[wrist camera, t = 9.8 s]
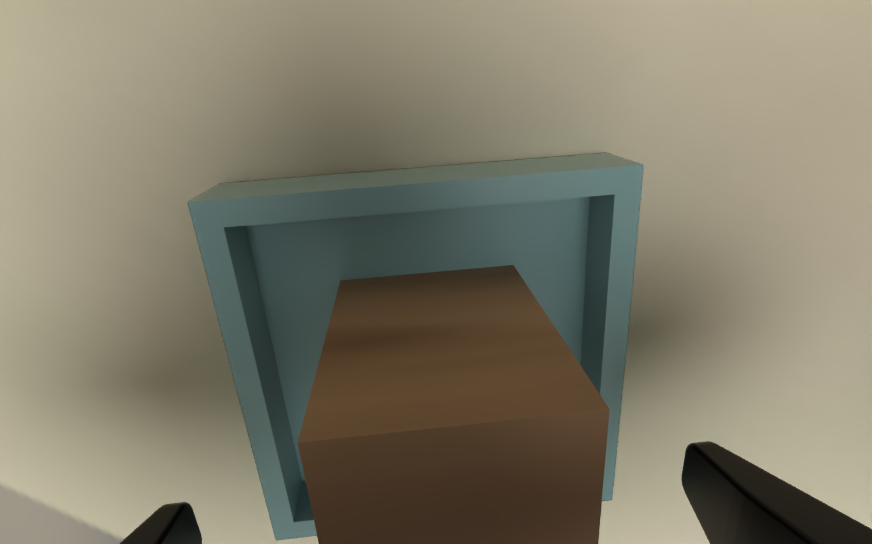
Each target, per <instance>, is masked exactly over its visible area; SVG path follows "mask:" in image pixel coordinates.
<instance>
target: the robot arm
mask: <svg viewBox="0 0 872 544" xmlns="http://www.w3.org/2000/svg"><path fill="white" fill-rule="evenodd" d="M682 485H683V488H684V491H685V493H686V495H687V497H688V499H689V501H690V504H691V506H692V508H693V510H694V512H695V514H696V516H697V518H698V520H699V522H700V524H701V526H702V528H703V530H704V532H705V534H706V536H707V538H708V540H709V542H710V544H872V529H870V528H869V527H867V526H865V525H863V524H861V523H860V522H858V521H856V520H854V519H852V518H850V517H849V516H847V515H845V514H843V513H841V512H839V511H838V510H836V509H834V508H832V507H830V506H829V505H827V504H825V503H823V502H821V501H819V500H818V499H816V498H814V497H812V496H810V495H808V494H807V493H805V492H803V491H801V490H799V489H798V488H796V487H794V486H792V485H790V484H788V483H787V482H785V481H783V480H781V479H779V478H778V477H776V476H774V475H772V474H770V473H768V472H767V471H765V470H763V469H761V468H759V467H757V466H756V465H754V464H752V463H750V462H748V461H747V460H745V459H743V458H741V457H739V456H737V455H736V454H734V453H732V452H730V451H728V450H726V449H725V448H723V447H721V446H719V445H717V444H715V443H713V442H708V441H707V442H698V443H691V444H689V445H688V446H687V448H686V452H685V459H684V465H683V471H682ZM120 544H202V537H201V533H200V530H199V527H198V524H197V521H196V518H195V515H194V512H193V509H192V507H191V505H190V504H189V503H186V502H181V503H173V504H166V505H163V506H162V507H160V508H159V509H158V510H157V511H155V512H154V513H153V514H152V515H151V516H150V517H149V518H148V519H146V520H145V521H144V522H143V523H142V524H141V525H140V526H139V527H137V528H136V529H135V530H134V531H133V532H132V533H131V534H130V535H129V536H127V537H126V538H125V539H124V540H123V541H122V542H121V543H120Z"/></svg>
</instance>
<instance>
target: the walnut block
mask: <svg viewBox="0 0 872 544" xmlns="http://www.w3.org/2000/svg"><path fill="white" fill-rule="evenodd" d="M609 411H610V409H609V408H608V406H607V405H606V403H605V402H604V400H603V399H602V397H601V396H600V394H599V393H598V391H597V390H596V388H595V387H594V385H593V384H592V382H591V381H590V379H589V378H588V376H587V375H586V373H585V372H584V370H583V369H582V367H581V366H580V364H579V363H578V361H577V360H576V358H575V357H574V355H573V354H572V352H571V351H570V349H569V348H568V346H567V345H566V343H565V342H564V340H563V339H562V337H561V336H560V334H559V333H558V331H557V330H556V328H555V327H554V325H553V324H552V322H551V321H550V319H549V318H548V316H547V315H546V313H545V312H544V310H543V309H542V307H541V306H540V304H539V303H538V301H537V300H536V298H535V297H534V295H533V294H532V292H531V291H530V289H529V288H528V286H527V285H526V283H525V282H524V280H523V279H522V277H521V276H520V274H519V273H518V271H517V270H516V268H515V267H514V265H507V266H496V267H485V268H474V269H463V270H451V271H440V272H429V273H418V274H407V275H396V276H384V277H373V278H362V279H351V280H340V284H339V288H338V292H337V296H336V299H335V303H334V307H333V311H332V314H331V318H330V322H329V326H328V330H327V333H326V337H325V341H324V345H323V348H322V352H321V356H320V360H319V363H318V367H317V371H316V375H315V379H314V382H313V386H312V390H311V394H310V397H309V401H308V405H307V409H306V413H305V416H304V420H303V424H302V428H301V431H300V435H299V439H298V448H299V452H300V457H301V462H302V466H303V471H304V476H305V481H306V485H307V490H308V495H309V499H310V504H311V509H312V513H313V518H314V523H315V528H316V532H317V537H318V542H319V544H598V538H599V527H600V515H601V504H602V492H603V480H604V469H605V457H606V446H607V434H608V423H609Z"/></svg>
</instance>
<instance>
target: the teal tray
mask: <svg viewBox="0 0 872 544" xmlns="http://www.w3.org/2000/svg"><path fill="white" fill-rule="evenodd" d="M643 167H644V165H642V164H639V163H636V162H633V161H630V160H627V159H624V158H621V157H618V156H615V155H612V154H608V153H595V154H583V155H570V156H557V157H545V158H532V159H520V160H507V161H495V162H482V163H470V164H457V165H445V166H432V167H419V168H407V169H394V170H382V171H369V172H357V173H344V174H332V175H319V176H307V177H294V178H281V179H269V180H256V181H244V182H231V183H220V184H218V185H216V186H214V187H213V188H211V189H209V190H208V191H206V192H204V193H202V194H201V195H199V196H197V197H195V198H194V199H192V200H190V201H188V206H189V210H190V214H191V218H192V221H193V225H194V229H195V233H196V237H197V241H198V244H199V248H200V252H201V256H202V260H203V264H204V267H205V271H206V275H207V279H208V283H209V287H210V290H211V294H212V298H213V302H214V306H215V309H216V313H217V317H218V321H219V325H220V329H221V332H222V336H223V340H224V344H225V348H226V352H227V355H228V359H229V363H230V367H231V371H232V375H233V378H234V382H235V386H236V390H237V394H238V397H239V401H240V405H241V409H242V413H243V417H244V420H245V424H246V428H247V432H248V436H249V440H250V443H251V447H252V451H253V455H254V459H255V463H256V466H257V470H258V474H259V478H260V482H261V485H262V489H263V493H264V497H265V501H266V505H267V508H268V512H269V516H270V520H271V524H272V528H273V531H274V535H275V539H276V540H284V539H293V538H301V537H309V536H317V532H316V528H315V523H314V518H313V513H312V509H311V504H310V499H309V495H308V490H307V485H306V481H305V476H304V471H303V466H302V462H301V457H300V452H299V448H298V439H299V435H300V431H301V428H302V424H303V420H304V416H305V413H306V409H307V405H308V401H309V397H310V394H311V390H312V386H313V382H314V379H315V375H316V371H317V367H318V363H319V360H320V356H321V352H322V348H323V345H324V341H325V337H326V333H327V330H328V326H329V322H330V318H331V314H332V311H333V307H334V303H335V299H336V296H337V292H338V288H339V284H340V280H351V279H362V278H373V277H384V276H396V275H407V274H418V273H429V272H440V271H451V270H463V269H474V268H485V267H496V266H507V265H514V267H515V268H516V270H517V271H518V273H519V274H520V276H521V277H522V279H523V280H524V282H525V283H526V285H527V286H528V288H529V289H530V291H531V292H532V294H533V295H534V297H535V298H536V300H537V301H538V303H539V304H540V306H541V307H542V309H543V310H544V312H545V313H546V315H547V316H548V318H549V319H550V321H551V322H552V324H553V325H554V327H555V328H556V330H557V331H558V333H559V334H560V336H561V337H562V339H563V340H564V342H565V343H566V345H567V346H568V348H569V349H570V351H571V352H572V354H573V355H574V357H575V358H576V360H577V361H578V363H579V364H580V366H581V367H582V369H583V370H584V372H585V373H586V375H587V376H588V378H589V379H590V381H591V382H592V384H593V385H594V387H595V388H596V390H597V391H598V393H599V394H600V396H601V397H602V399H603V400H604V402H605V403H606V405H607V406H608V408H609V409H610V411H609V423H608V434H607V446H606V457H605V469H604V480H603V492H602V501H609V500H612V496H613V486H614V475H615V465H616V454H617V443H618V433H619V422H620V411H621V401H622V390H623V380H624V369H625V358H626V348H627V337H628V327H629V316H630V305H631V295H632V284H633V273H634V263H635V252H636V242H637V231H638V220H639V210H640V199H641V189H642V178H643Z"/></svg>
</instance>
